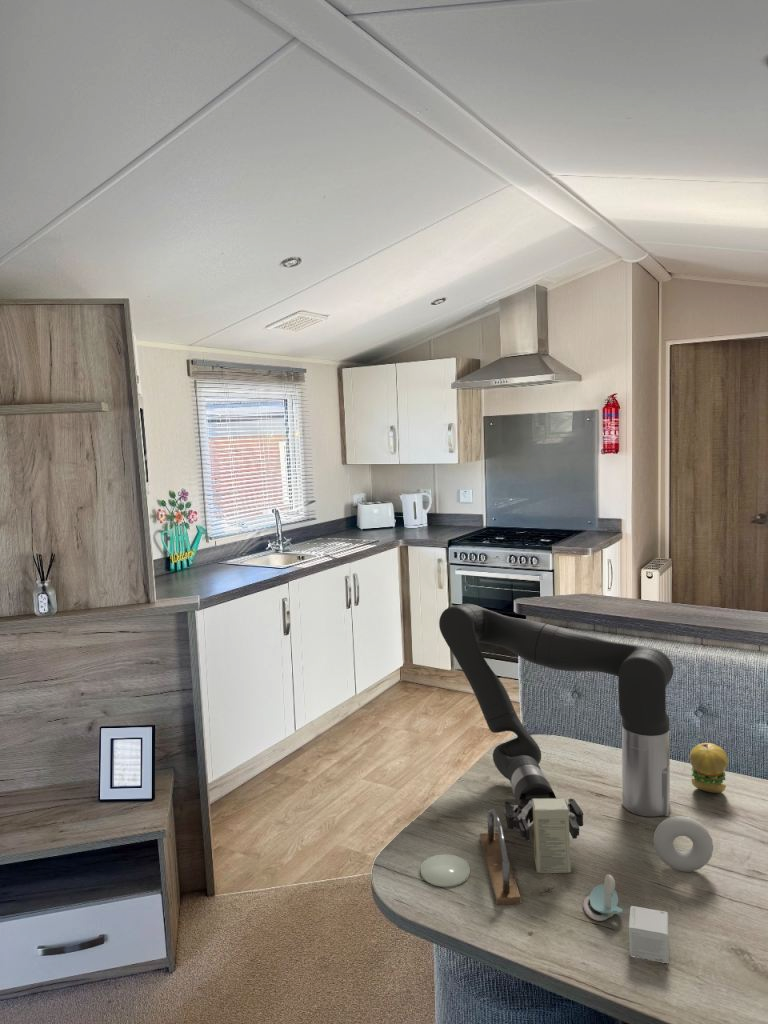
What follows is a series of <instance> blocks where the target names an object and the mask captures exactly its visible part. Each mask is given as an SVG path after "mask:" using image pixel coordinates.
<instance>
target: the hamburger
mask: <svg viewBox="0 0 768 1024" xmlns="http://www.w3.org/2000/svg"><path fill="white" fill-rule="evenodd" d="M689 761H690V765H691V772H692V773H691V776H692V778H691V784H692V785H693V786H694V788H696V789H697V790H701V791H703V792H707V793H712V794H713V793H714V794H715V793H716V794H720V793H722V792H725V790H726V787H727V785H726V784H724V783H723V782H724V781H726V769H727V768H728V765H729V758H728V755H727V753H726V751H725V750H724V749H723V748H722V747H721V746H719V745H717V744H715V743H712V742H711V743H710V742H702V743H698V744H696V745H695V746H694V747H692V749H691V750H690V753H689Z"/></svg>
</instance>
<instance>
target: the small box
mask: <svg viewBox="0 0 768 1024" xmlns="http://www.w3.org/2000/svg"><path fill="white" fill-rule="evenodd" d="M628 919H629V921H628V940H629V941H628V945H629V946H628V949H629V950H628V951H629V956H630V955H632V956H635V957H639V958H638V959H640V958H645V959H649V960H648V961H650V960H654V961H653V962H655V961H657V962H656V963H659V962H664V963H667V964H666V965H668V964H669V959H670V931H669V929H670V928H669V912H667V911H663V910H658V909H651V908H646V907H641V906H635V905H631V906H630V908H629V917H628ZM635 957H634V958H635ZM645 959H644V960H645ZM664 963H663V964H664Z"/></svg>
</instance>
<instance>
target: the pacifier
mask: <svg viewBox="0 0 768 1024" xmlns="http://www.w3.org/2000/svg"><path fill="white" fill-rule="evenodd" d="M615 889H616V880H615V878H614V877H613V875H611V874H609V873H608V874H606V875H605V877H604V880H603V883H601V884H597V885H596V886H594V887H593V888H592V889H591V892H590V894H589V895H588V896H586V897H584V900H583V901H582V902H583V903H582V907H583V910H584V912H585V914H586V915H587V916H588V917H589V918H590V919H592V920H594V921H599V922H602V921H603V922H604V921H606V920H607V919H608V918H611V917H613V916H614V915H619V914H622V913H623V909H622V908H621V907H620V906H618V903H619V896H618V892H617V891H616V890H615ZM589 905H590V906H591V908H592V909H593V910H594V911H596V912H599V914H597V913H595V912H593V911H592V910H591V908H590V906H589Z"/></svg>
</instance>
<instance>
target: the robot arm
mask: <svg viewBox="0 0 768 1024" xmlns="http://www.w3.org/2000/svg"><path fill="white" fill-rule="evenodd" d="M438 626H439V631H440V634H441V636H442V638H443V639H444V642H445V643H446V645H447V646H448V648H449V649H450V652H451V653H452V655H453V656H454V658H455V660H456V661H457V663H458V665H459V667H460V668H461V670H462V671H463V672H462V673H463V674H464V675H465V677H466V679H467V681H468V683H469V685H470V687H471V689H472V691H473V694H474V695H475V698H476V700H477V702H478V703H477V704H478V705H479V707H480V710H481V713H482V715H483V717H484V720H485V721H486V722H485V723H486V725H487V727H488V729H489V731H490V732H491V733H494V734H499V733H503V732H512V733H514V734H515V735H516V736H517V737H515V738H513V739H510V740H507V741H505V742H503V743H499V744H498V745H497V746H495V748H494V749H493V753H492V760H493V763H494V766H495V767H496V769H497V770H498V772H499V773H500V774H501V775H502V776H503V777H504V778H506V779H507V780H508V781H509V782H510V784H511V789H512V794H513V797H514V799H515V801H516V804H514V805H513V804H512V803H511V801H507V800H506V801H504V802H503V804H504V805H503V806H504V809H503V810H504V818H505V823H506V828H507V830H514V829H517V830H518V831H519V834H520V837H521V839H524V840H525V841H526V842H527V841H530V840H531V831H530V827H531V826H532V825H533V804H532V799H539V798H557V797H556V794H555V792H554V790H553V788H552V786H551V784H550V782H549V780H548V778H547V776H546V775H545V773H544V772H543V770H542V769H541V766H540V763H541V761H542V751H541V748H540V746H539V744H538V743H537V742H536V740H535V739H534V738H533V736H532V735H531V734H530V733H529V731H528V730H527V729H526V728H525V726H524V725H523V724H522V723H523V722H522V721H521V720H520V718H519V716H518V714H517V712H516V711H515V707H514V705H513V703H512V701H511V698H510V695H509V693H508V691H507V690H506V688H505V686H504V684H503V682H502V681H501V680H500V679H499V677H498V676H497V674H496V673H495V672H494V671H493V670H492V668H491V667H490V665H489V664H488V662H487V661H486V659H485V658H484V655H483V653H482V651H481V649H480V645H479V643H483V644H488V645H492V646H497V647H501V648H503V649H506V650H507V651H509V652H511V653H513V654H514V655H516V656H517V657H519V658H521V659H524V660H525V661H527V662H530V663H532V664H535V665H538V666H543V667H545V668H549V669H553V670H557V671H562V672H563V671H564V672H591V673H594V672H596V673H603V674H607V675H611V676H615V677H617V678H618V679H617V682H618V683H617V688H618V711H619V714H620V717H621V738H622V739H621V751H622V752H621V753H622V754H621V756H622V757H621V759H622V760H621V761H622V763H621V765H622V766H621V773H622V776H621V777H622V778H621V779H622V780H621V782H622V787H621V788H622V789H621V790H622V791H621V792H622V793H621V795H622V796H621V797H622V800H621V801H622V806H623V807H624V808H625V810H628V812H631V813H632V814H635V815H638V816H642V817H643V816H644V817H653V818H654V817H660V816H665V817H668V816H669V813H670V803H671V801H670V800H671V798H670V797H671V760H670V716H669V715H668V714H667V710H666V709H667V707H666V705H667V703H666V701H667V700H666V698H667V696H666V693H667V692H666V689H667V686H668V685H669V684H670V682H671V680H672V678H673V675H674V665H673V663H672V661H671V660H670V658H669V657H668V655H666V654H665V653H664V652H663V651H662V650H659V649H658V648H656V647H655V648H654V647H652V646H647V645H639V644H634V643H633V644H632V643H626V642H618V641H612V640H608V639H603V638H600V637H597V636H594V635H590V634H587V633H584V632H583V633H582V632H578V631H575V630H571V629H567V628H564V627H561V626H556V625H553V624H549V623H544V622H539V621H535V620H529V619H524V618H518V617H512V616H508V615H503V614H502V613H498V612H495V611H493V610H489V609H487V608H484V607H482V606H479V605H476V604H472V603H461V604H457V605H453V606H449V607H447V608H445V609H444V610H443V612H441V615H440V617H439V620H438ZM567 806H568V810H569V835H570V837H571V838H572V839H578V836H580V827H584V812H583V810H582V808H581V807H580V805H579V804H578V803H577V801H576V800H575V799H574V798H571V797H570V798H568V802H567ZM516 813H518V815H517V817H516Z"/></svg>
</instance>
